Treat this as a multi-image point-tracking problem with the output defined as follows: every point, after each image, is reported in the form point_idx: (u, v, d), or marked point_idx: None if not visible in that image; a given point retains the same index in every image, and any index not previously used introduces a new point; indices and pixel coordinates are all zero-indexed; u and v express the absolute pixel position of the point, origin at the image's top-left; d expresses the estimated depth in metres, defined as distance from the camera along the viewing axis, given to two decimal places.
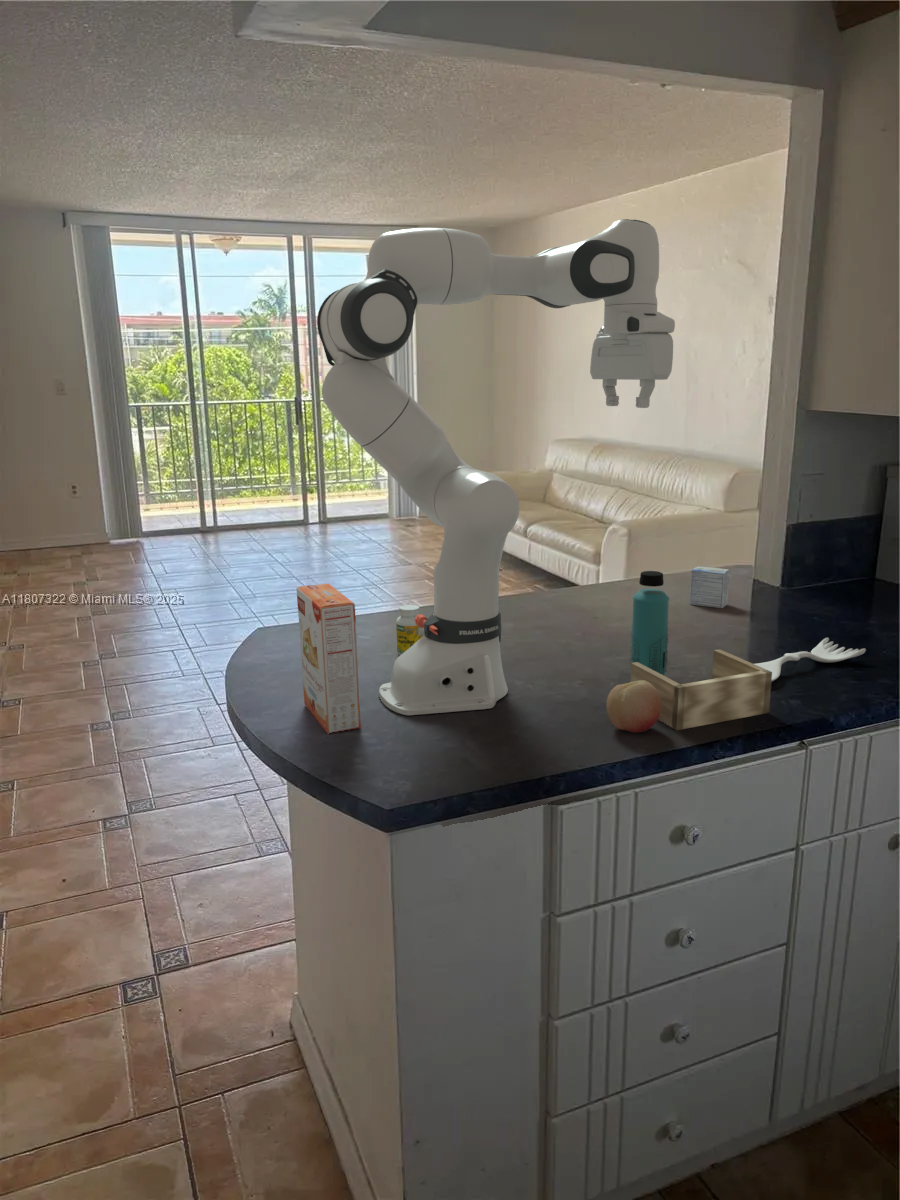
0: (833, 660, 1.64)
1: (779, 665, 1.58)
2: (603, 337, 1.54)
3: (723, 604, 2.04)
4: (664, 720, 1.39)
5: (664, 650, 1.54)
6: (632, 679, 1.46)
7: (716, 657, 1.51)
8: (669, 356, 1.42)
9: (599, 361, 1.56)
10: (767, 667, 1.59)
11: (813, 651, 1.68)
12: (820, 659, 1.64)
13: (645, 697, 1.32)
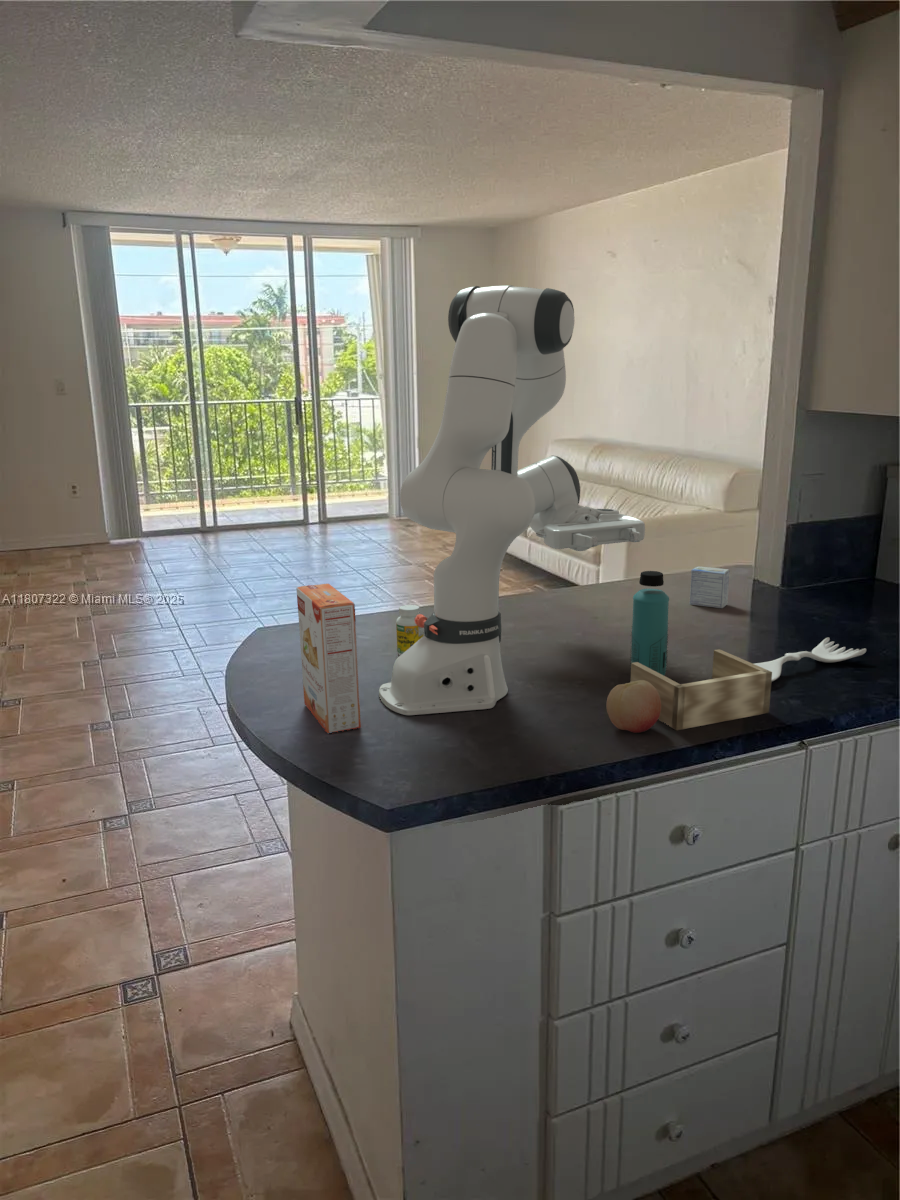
0: (834, 660, 1.64)
1: (780, 665, 1.58)
2: None
3: (723, 604, 2.04)
4: (664, 720, 1.39)
5: (664, 650, 1.54)
6: (632, 679, 1.46)
7: (716, 657, 1.51)
8: None
9: (564, 527, 1.67)
10: (768, 667, 1.59)
11: (814, 651, 1.68)
12: (821, 659, 1.64)
13: (645, 697, 1.32)
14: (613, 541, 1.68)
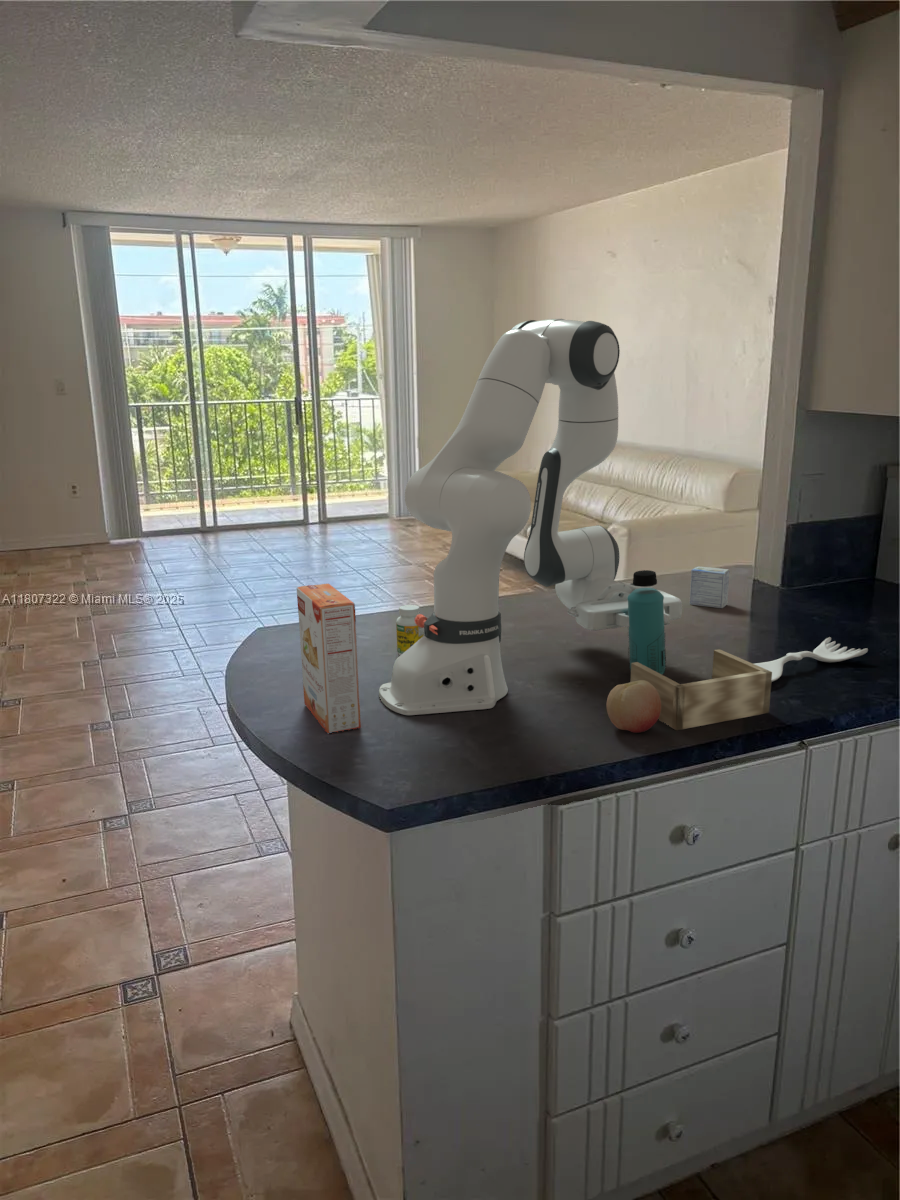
0: (835, 660, 1.64)
1: (781, 665, 1.59)
2: (590, 601, 1.63)
3: (723, 604, 2.04)
4: (664, 720, 1.39)
5: (662, 649, 1.54)
6: (632, 679, 1.46)
7: (716, 657, 1.51)
8: None
9: (598, 606, 1.59)
10: (769, 667, 1.59)
11: (815, 651, 1.69)
12: (822, 659, 1.64)
13: (645, 697, 1.32)
14: None
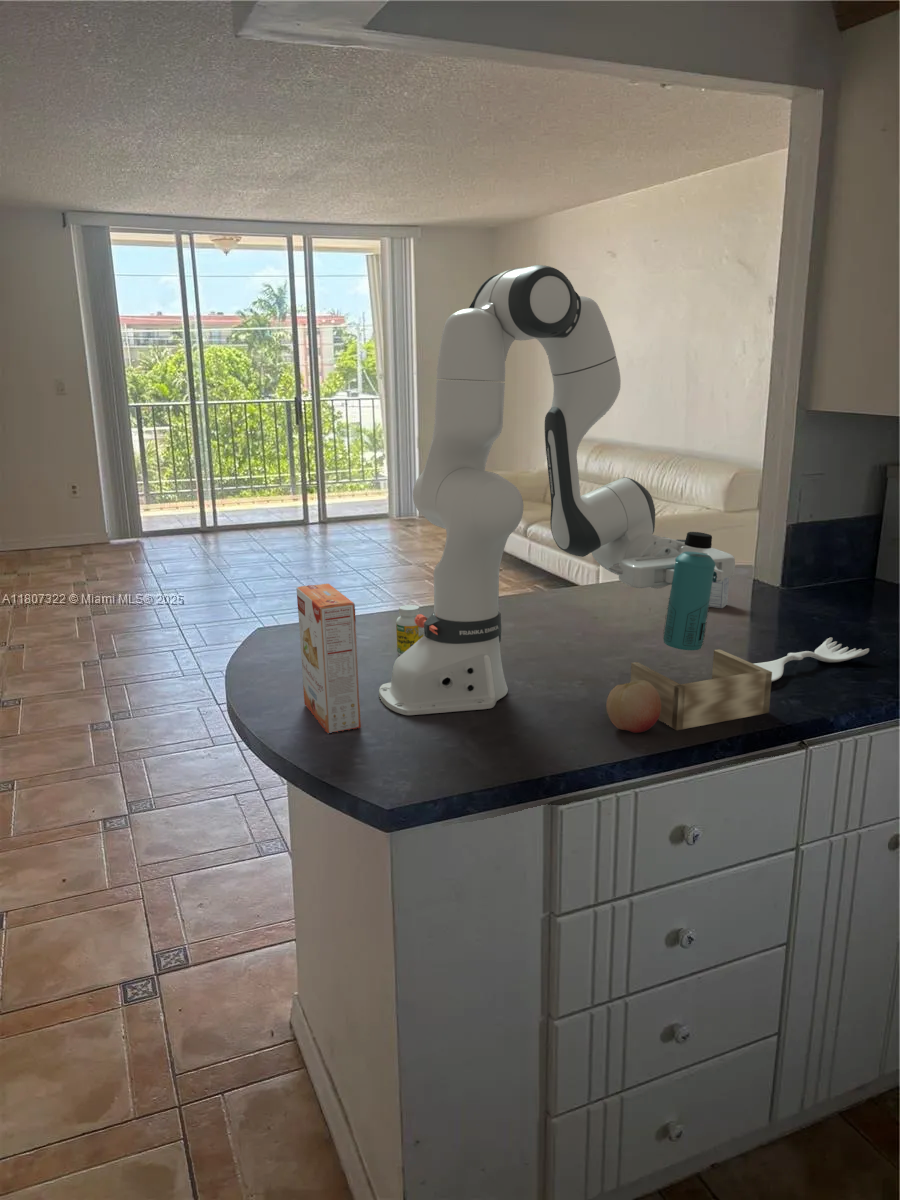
0: (836, 660, 1.64)
1: (782, 665, 1.59)
2: (634, 557, 1.48)
3: (723, 604, 2.04)
4: (664, 720, 1.39)
5: (703, 621, 1.39)
6: (632, 679, 1.46)
7: (716, 657, 1.51)
8: None
9: (644, 562, 1.44)
10: (770, 667, 1.59)
11: (816, 651, 1.69)
12: (823, 659, 1.64)
13: (645, 697, 1.32)
14: None
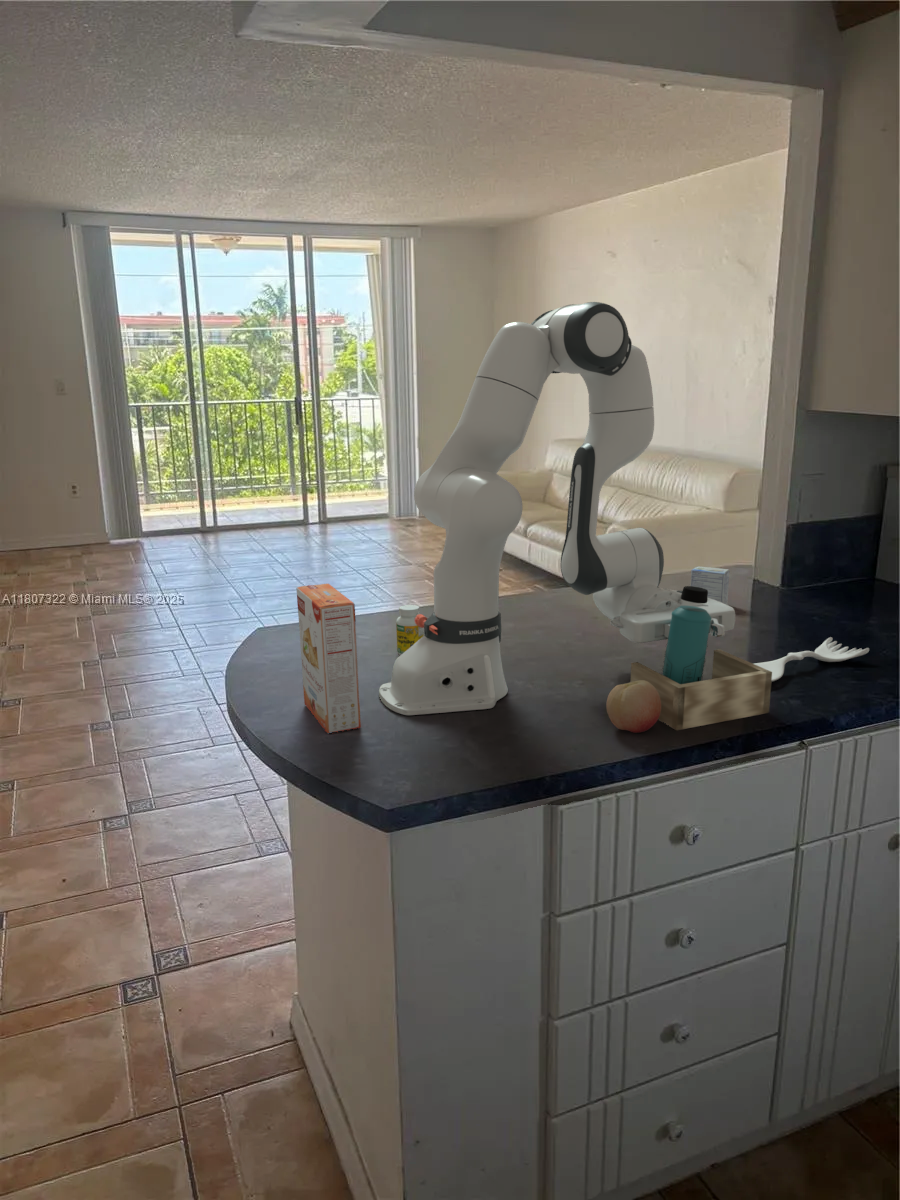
0: (837, 659, 1.64)
1: (782, 664, 1.59)
2: (635, 610, 1.49)
3: None
4: (664, 720, 1.39)
5: (699, 675, 1.40)
6: (632, 679, 1.46)
7: (716, 657, 1.51)
8: None
9: (645, 616, 1.45)
10: (771, 667, 1.59)
11: (817, 650, 1.69)
12: (824, 658, 1.64)
13: (645, 697, 1.32)
14: None
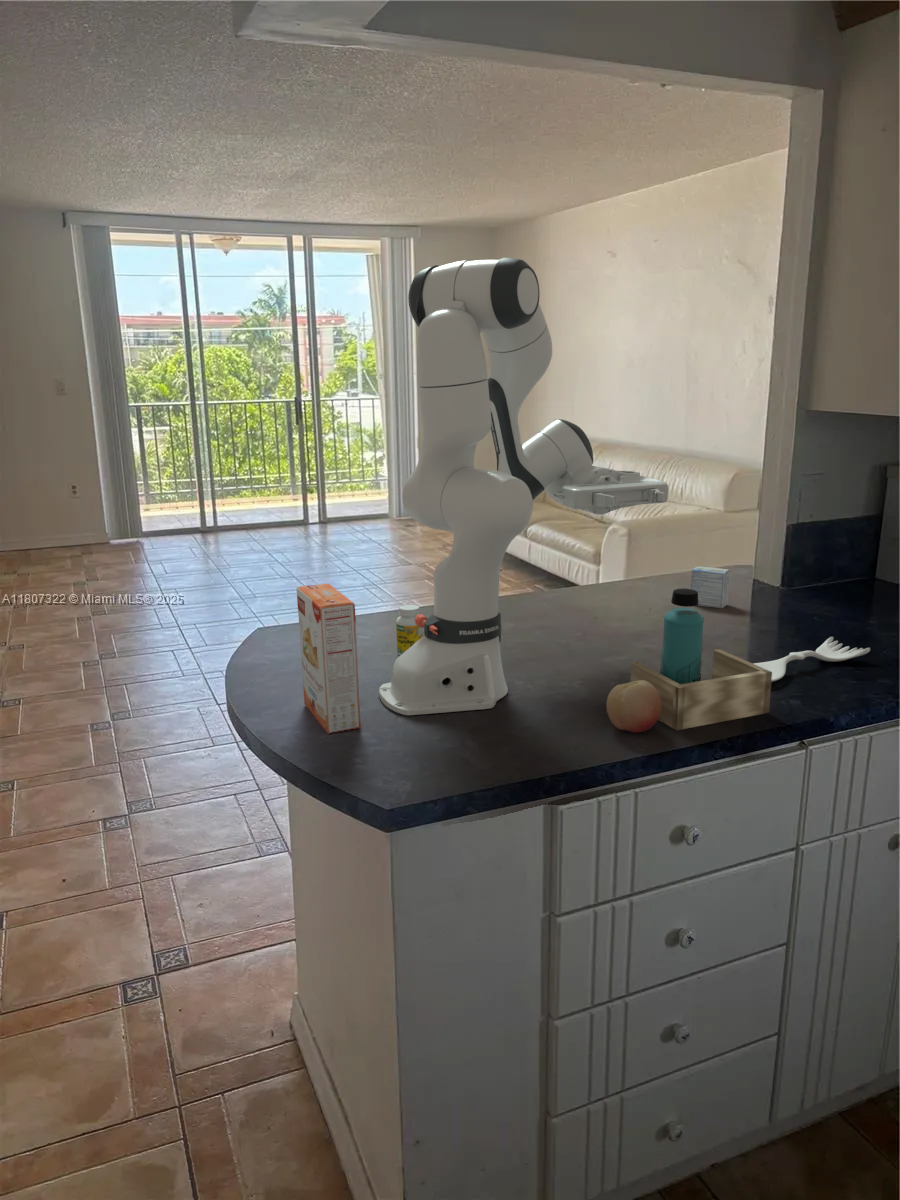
0: (838, 659, 1.64)
1: (784, 664, 1.59)
2: (577, 484, 1.63)
3: (723, 604, 2.04)
4: (664, 720, 1.39)
5: (694, 677, 1.40)
6: (632, 679, 1.46)
7: (716, 657, 1.51)
8: None
9: (584, 487, 1.59)
10: (773, 666, 1.59)
11: (818, 650, 1.69)
12: (825, 658, 1.65)
13: (645, 697, 1.32)
14: (635, 502, 1.60)
